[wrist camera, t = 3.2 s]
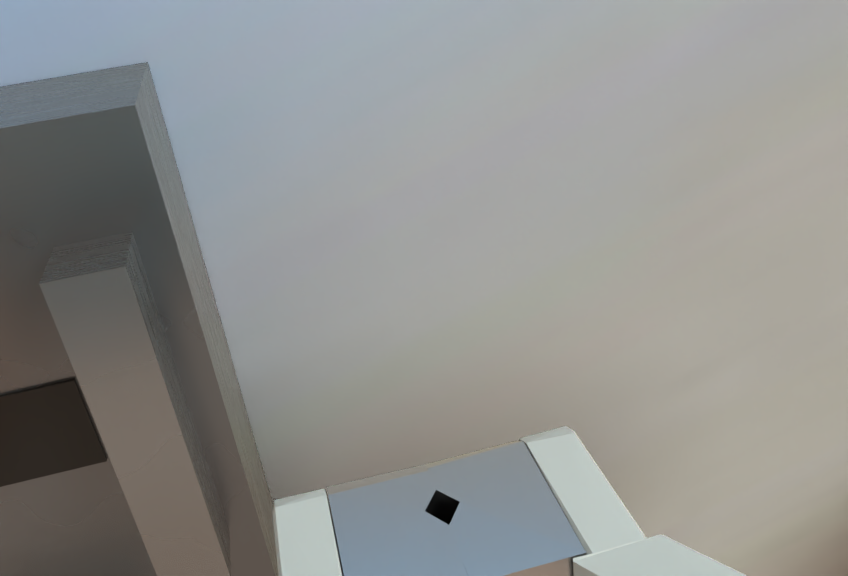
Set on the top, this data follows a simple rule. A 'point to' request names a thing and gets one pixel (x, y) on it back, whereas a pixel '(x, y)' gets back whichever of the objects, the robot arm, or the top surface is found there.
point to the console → (114, 350)
